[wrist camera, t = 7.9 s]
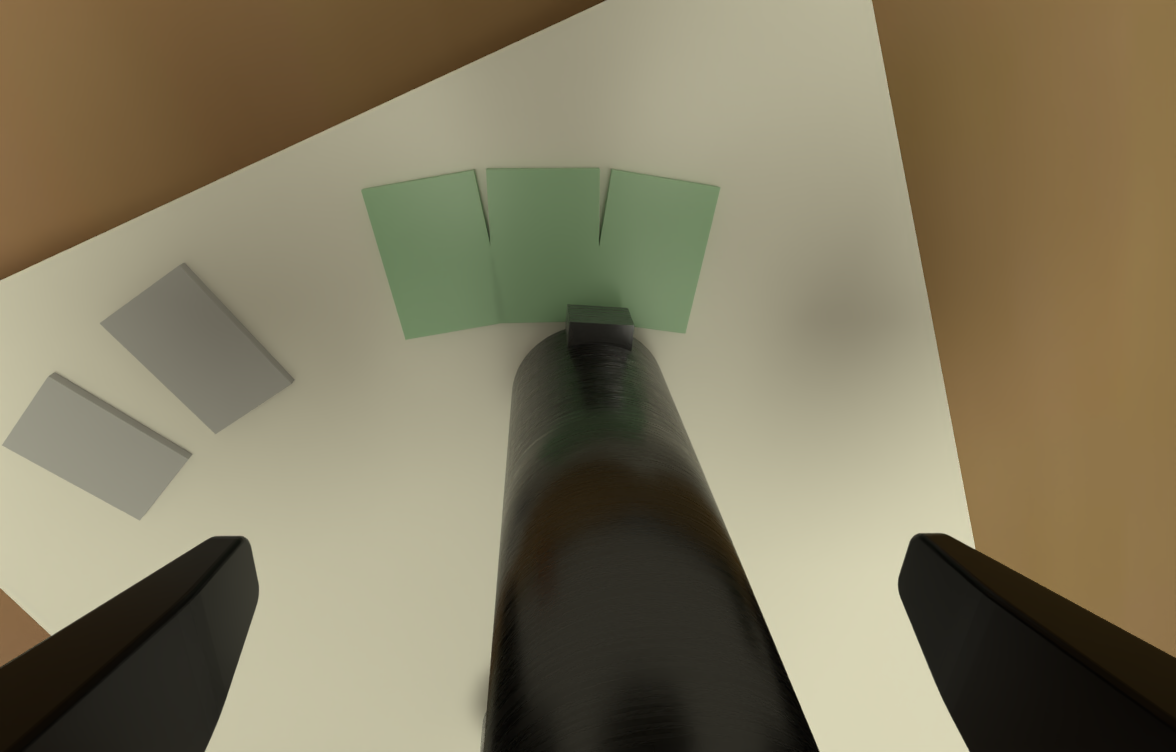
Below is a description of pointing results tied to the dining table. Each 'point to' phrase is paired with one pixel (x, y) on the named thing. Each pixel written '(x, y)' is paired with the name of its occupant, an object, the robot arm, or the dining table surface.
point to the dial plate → (503, 368)
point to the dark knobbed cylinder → (621, 571)
